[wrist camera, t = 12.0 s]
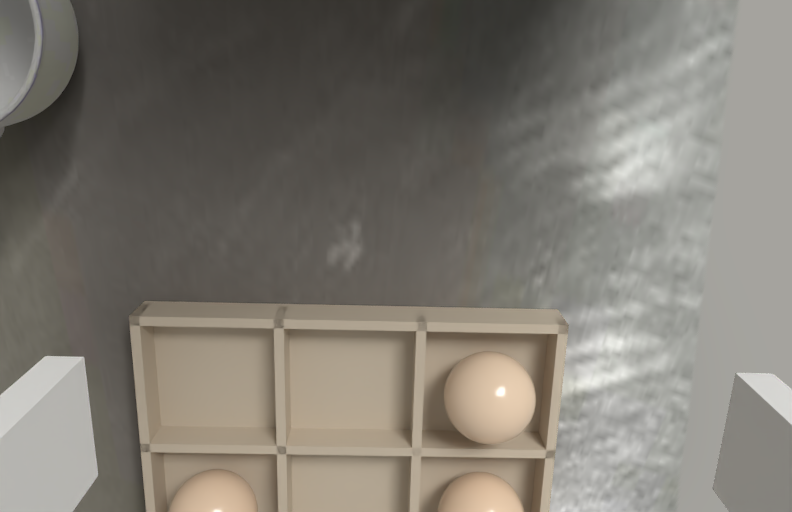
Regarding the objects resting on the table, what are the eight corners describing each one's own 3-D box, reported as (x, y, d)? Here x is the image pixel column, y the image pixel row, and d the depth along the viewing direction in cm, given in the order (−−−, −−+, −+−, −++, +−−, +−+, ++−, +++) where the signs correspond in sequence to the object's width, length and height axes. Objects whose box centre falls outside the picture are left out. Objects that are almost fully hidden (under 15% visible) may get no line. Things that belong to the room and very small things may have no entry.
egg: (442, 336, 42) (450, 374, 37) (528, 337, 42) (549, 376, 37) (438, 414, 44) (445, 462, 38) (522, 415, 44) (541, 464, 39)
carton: (144, 300, 42) (128, 316, 39) (557, 309, 42) (568, 325, 40) (163, 537, 47) (150, 565, 44) (534, 542, 47) (542, 569, 45)
